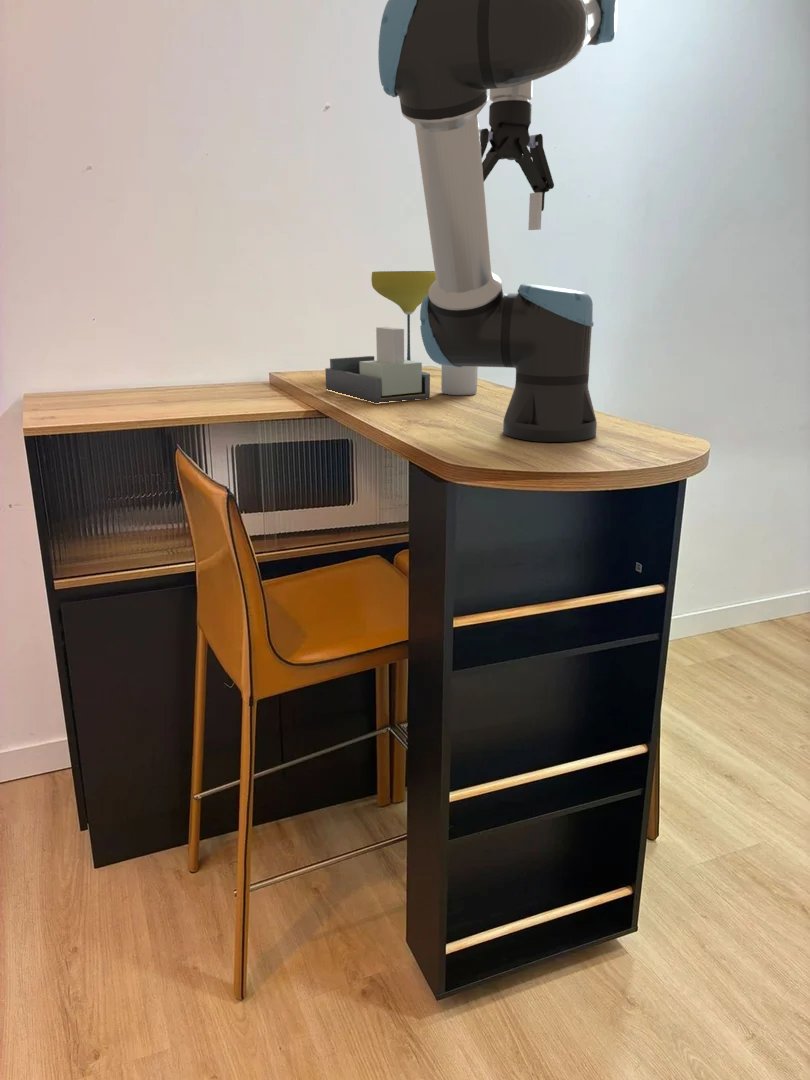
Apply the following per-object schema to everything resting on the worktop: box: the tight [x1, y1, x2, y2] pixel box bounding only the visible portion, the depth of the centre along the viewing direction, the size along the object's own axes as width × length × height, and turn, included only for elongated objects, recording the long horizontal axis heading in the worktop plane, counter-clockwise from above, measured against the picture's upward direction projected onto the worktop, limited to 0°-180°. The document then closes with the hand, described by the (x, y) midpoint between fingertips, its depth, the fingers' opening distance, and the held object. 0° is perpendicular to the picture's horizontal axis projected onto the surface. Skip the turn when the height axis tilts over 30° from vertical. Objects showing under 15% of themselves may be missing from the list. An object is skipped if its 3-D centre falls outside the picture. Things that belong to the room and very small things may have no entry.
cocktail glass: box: [370, 270, 436, 376], centre depth 204 cm, size 18×18×25 cm
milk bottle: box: [440, 365, 479, 396], centre depth 175 cm, size 8×8×20 cm
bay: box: [324, 355, 431, 403], centre depth 176 cm, size 22×13×7 cm, turn 32°
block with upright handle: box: [359, 326, 423, 396], centre depth 169 cm, size 9×10×13 cm
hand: (506, 229), depth 153 cm, fingers open, 13 cm apart
